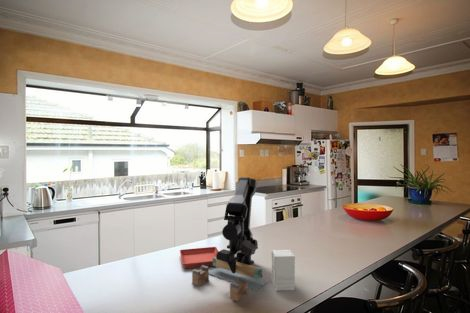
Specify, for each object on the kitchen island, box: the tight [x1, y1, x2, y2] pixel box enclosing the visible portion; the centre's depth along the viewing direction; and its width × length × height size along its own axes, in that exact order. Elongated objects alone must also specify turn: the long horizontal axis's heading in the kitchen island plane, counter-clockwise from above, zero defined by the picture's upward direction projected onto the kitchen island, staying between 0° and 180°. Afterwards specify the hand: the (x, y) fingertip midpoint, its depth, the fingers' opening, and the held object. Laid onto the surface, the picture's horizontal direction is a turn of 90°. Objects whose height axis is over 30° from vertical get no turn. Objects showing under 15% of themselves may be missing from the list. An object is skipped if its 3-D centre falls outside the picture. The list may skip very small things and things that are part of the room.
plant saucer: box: [179, 246, 220, 269], centre depth 127 cm, size 18×18×3 cm
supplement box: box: [271, 249, 296, 292], centre depth 103 cm, size 7×7×13 cm
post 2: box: [229, 277, 248, 302], centre depth 95 cm, size 6×3×5 cm, turn 144°
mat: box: [209, 266, 268, 291], centre depth 109 cm, size 8×24×1 cm, turn 54°
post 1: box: [191, 265, 210, 287], centre depth 106 cm, size 6×3×5 cm, turn 144°
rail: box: [212, 257, 263, 279], centre depth 109 cm, size 3×22×3 cm, turn 54°
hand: (236, 271), depth 109 cm, fingers closed on rail, 3 cm apart
